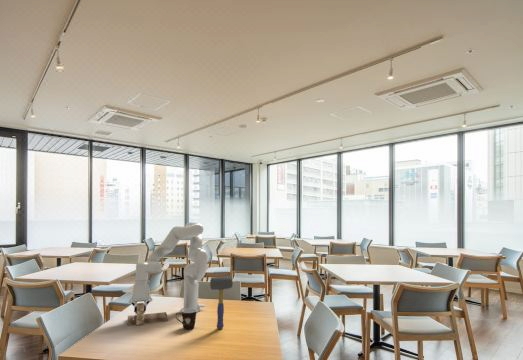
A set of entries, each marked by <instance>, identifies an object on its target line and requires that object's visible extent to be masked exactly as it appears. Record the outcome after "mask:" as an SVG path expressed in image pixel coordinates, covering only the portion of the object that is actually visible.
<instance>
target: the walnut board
mask: <svg viewBox="0 0 523 360" xmlns="http://www.w3.org/2000/svg"><path fill="white" fill-rule="evenodd" d="M168 319H169V317H168V313H167V312H166V311H163V312H154V313H152V312H151V313H144V324H152V323H153V324H154V323H160V322H167V321H169V320H168ZM136 322H137V314H132V315H127V326H132V325H136Z"/></svg>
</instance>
